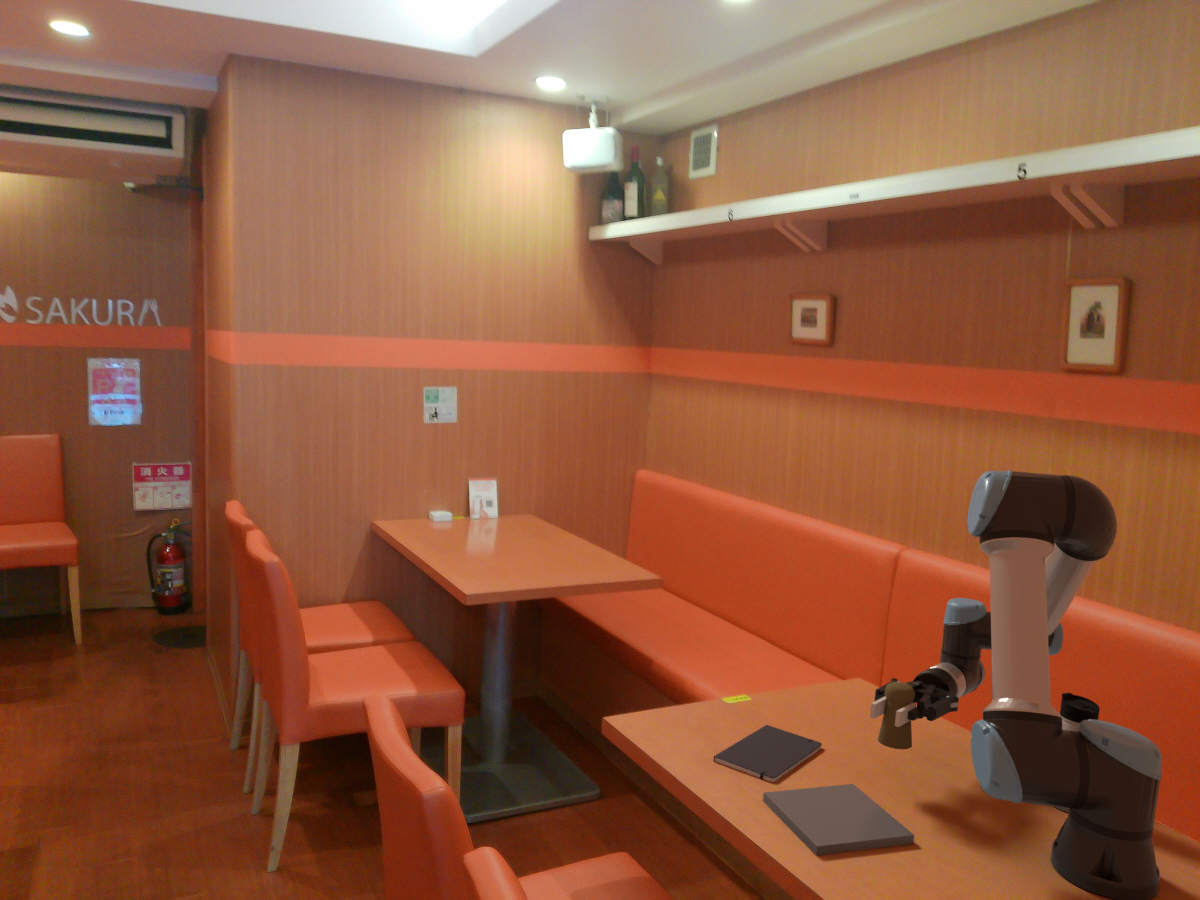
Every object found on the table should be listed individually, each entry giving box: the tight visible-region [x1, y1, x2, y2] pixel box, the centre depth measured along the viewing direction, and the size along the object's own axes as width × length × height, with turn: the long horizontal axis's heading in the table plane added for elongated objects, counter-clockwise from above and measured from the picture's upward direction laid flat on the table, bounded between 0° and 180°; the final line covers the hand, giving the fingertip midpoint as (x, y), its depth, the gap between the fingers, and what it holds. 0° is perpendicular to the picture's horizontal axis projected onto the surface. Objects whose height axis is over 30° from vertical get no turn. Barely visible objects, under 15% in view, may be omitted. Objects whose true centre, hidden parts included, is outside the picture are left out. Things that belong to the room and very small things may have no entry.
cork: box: [877, 681, 915, 750], centre depth 173 cm, size 6×6×11 cm
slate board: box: [762, 783, 915, 856], centre depth 160 cm, size 18×18×2 cm
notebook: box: [713, 724, 823, 783], centre depth 185 cm, size 13×2×21 cm
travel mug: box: [1053, 692, 1101, 814], centre depth 171 cm, size 6×7×20 cm
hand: (885, 714), depth 169 cm, fingers closed on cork, 4 cm apart
